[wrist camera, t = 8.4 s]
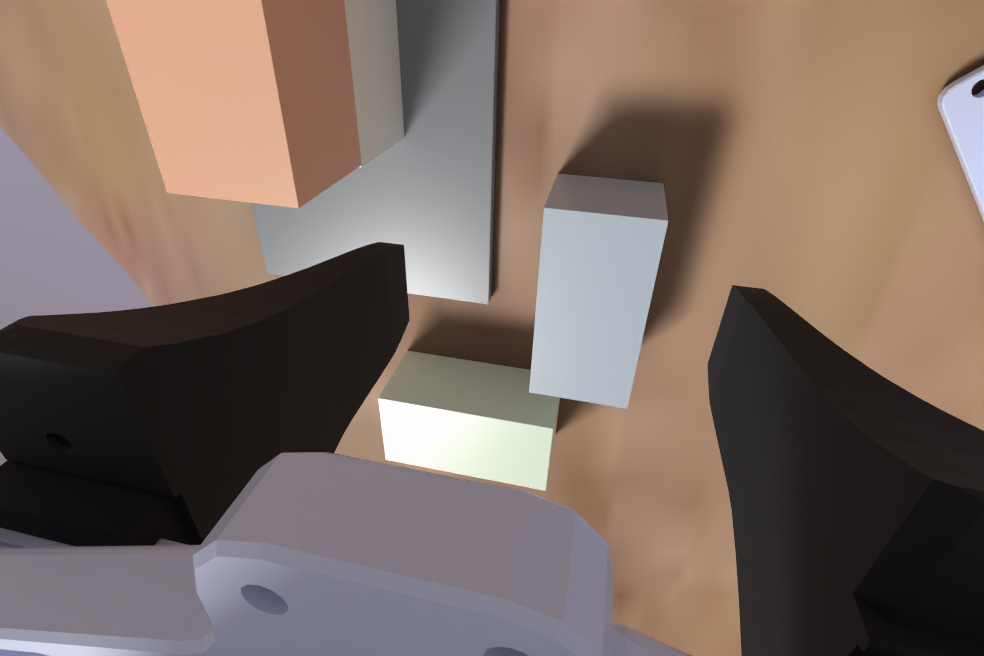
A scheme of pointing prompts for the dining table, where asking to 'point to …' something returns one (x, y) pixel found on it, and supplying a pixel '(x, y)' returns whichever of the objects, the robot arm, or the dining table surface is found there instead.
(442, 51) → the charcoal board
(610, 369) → the slate brick
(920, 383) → the dining table surface
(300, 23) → the terracotta brick
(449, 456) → the sage brick
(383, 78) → the cream brick
